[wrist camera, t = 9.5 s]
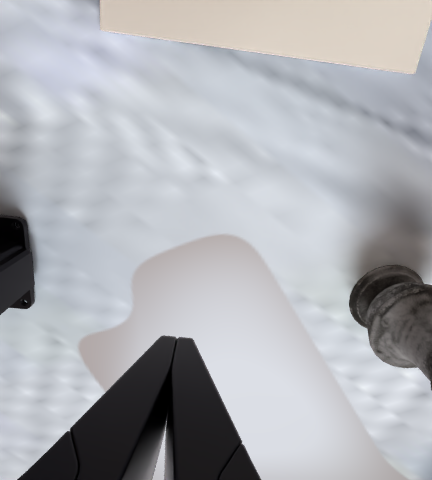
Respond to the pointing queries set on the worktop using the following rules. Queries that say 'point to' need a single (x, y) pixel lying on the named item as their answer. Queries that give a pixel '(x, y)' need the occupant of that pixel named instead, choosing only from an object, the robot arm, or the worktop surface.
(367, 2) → the card
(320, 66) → the worktop surface
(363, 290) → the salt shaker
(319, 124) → the worktop surface
